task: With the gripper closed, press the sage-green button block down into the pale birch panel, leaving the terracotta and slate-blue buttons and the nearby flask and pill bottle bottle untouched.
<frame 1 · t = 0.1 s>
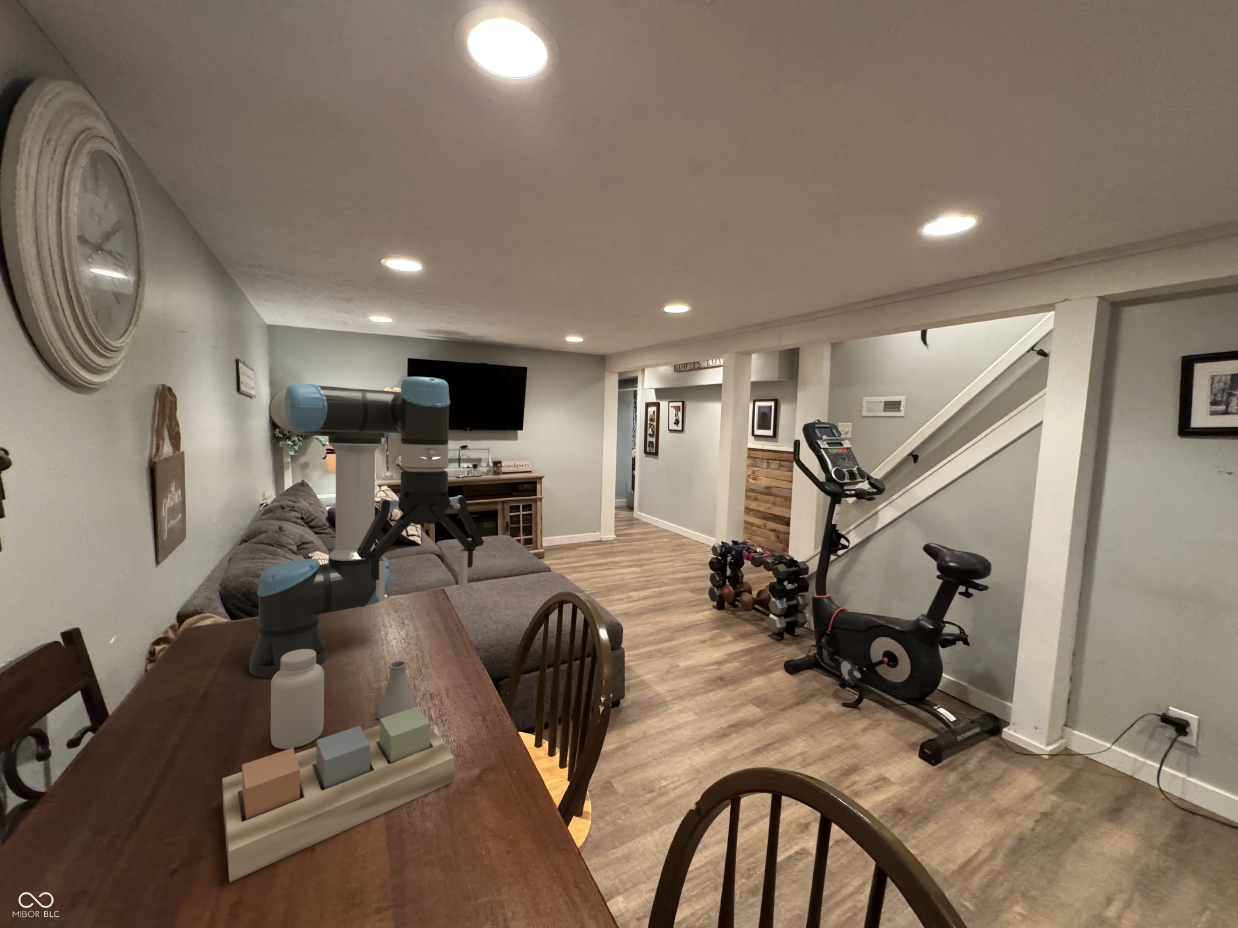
hand: (423, 591, 85), 28 cm above the table, fingers open, 13 cm apart
panel: (343, 792, 75), on the table
flask: (397, 713, 96), on the table
button slate: (343, 755, 74), point 6 cm above the table, slide at 0.0 cm
button sage: (404, 733, 80), point 6 cm above the table, slide at 0.0 cm
pill bottle: (298, 737, 88), on the table
button terracotta: (271, 781, 69), point 6 cm above the table, slide at 0.0 cm
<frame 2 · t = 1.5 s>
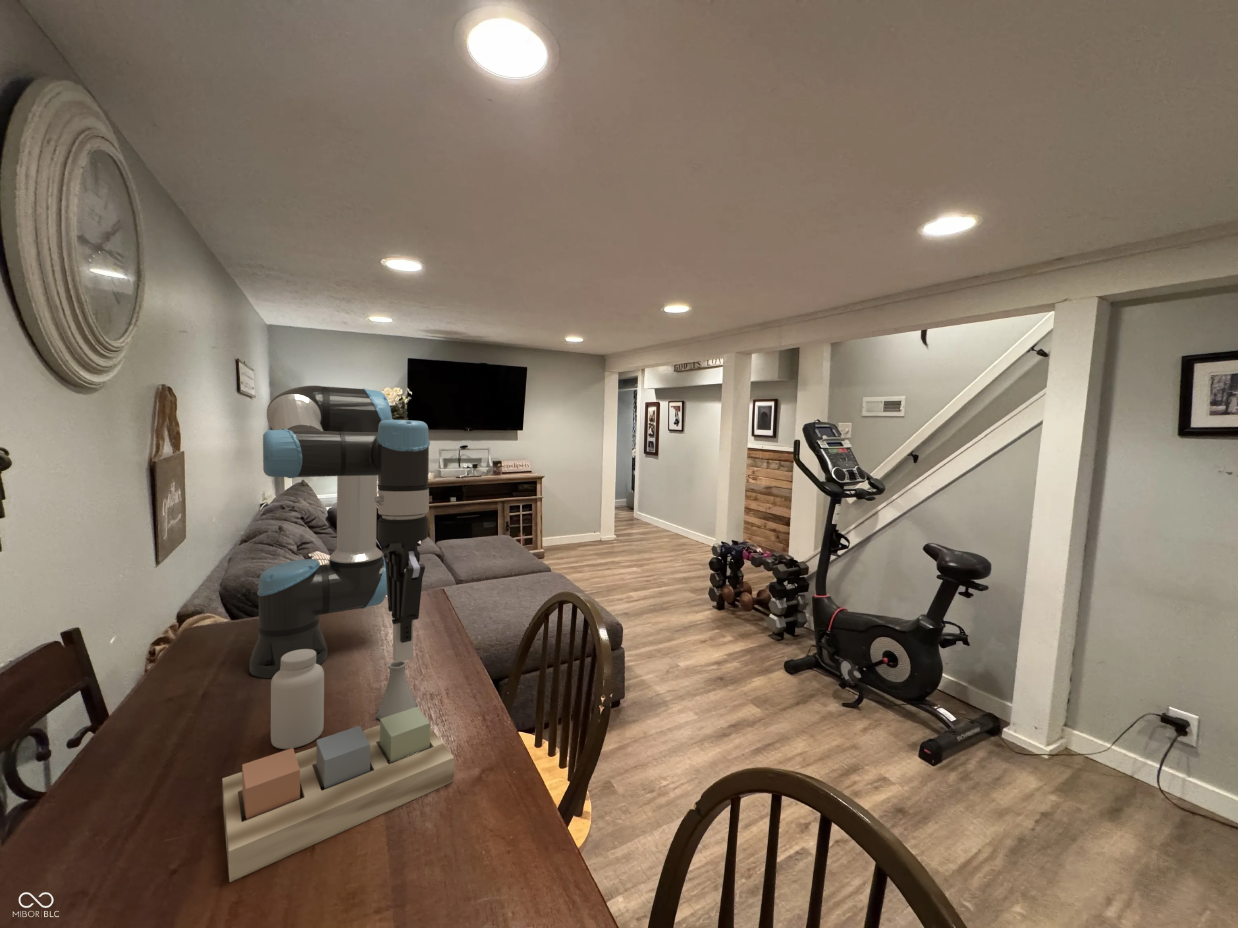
hand: (403, 658, 80), 18 cm above the table, fingers closed
nothing on the table moved.
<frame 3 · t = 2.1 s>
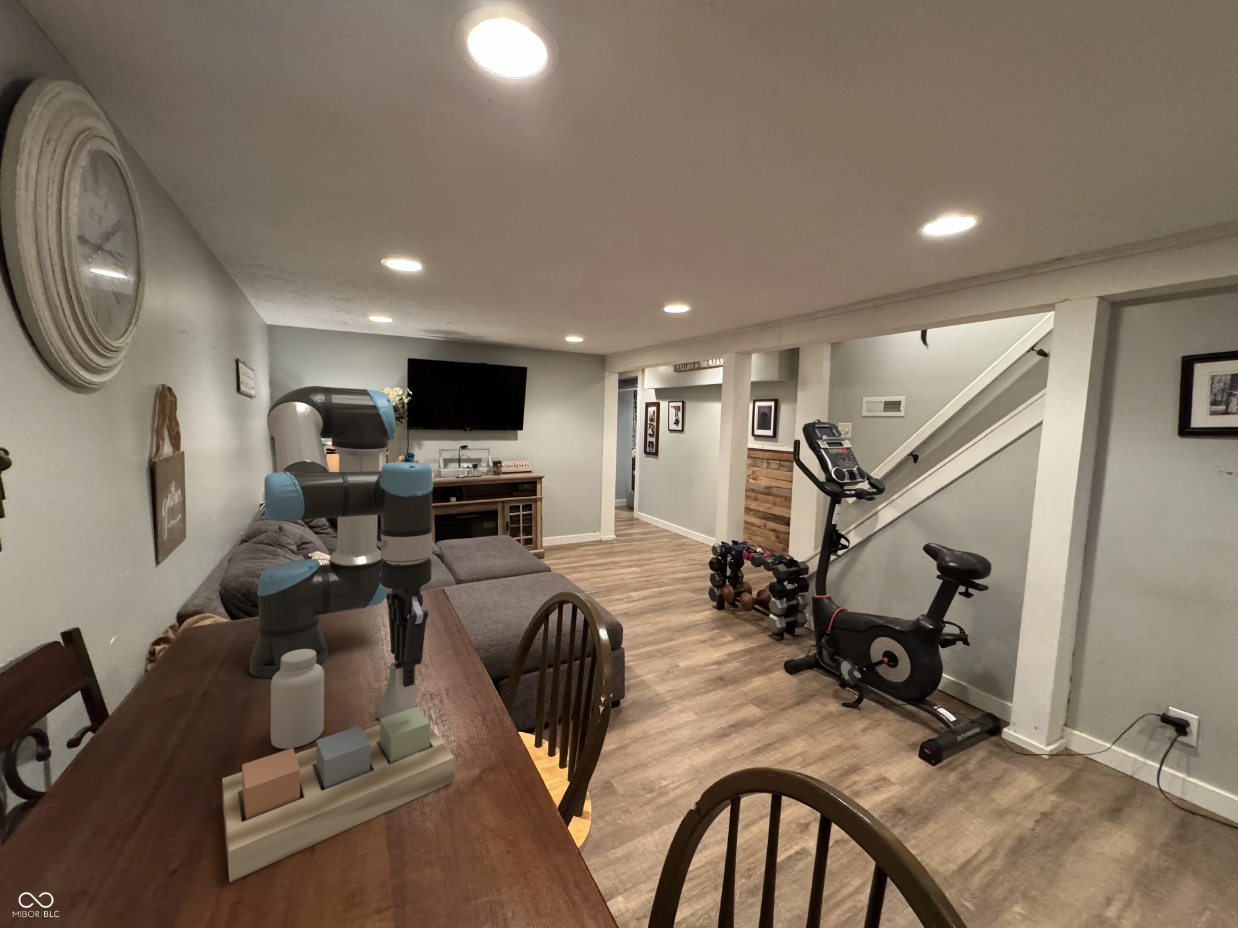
hand: (405, 701, 80), 11 cm above the table, fingers closed
nothing on the table moved.
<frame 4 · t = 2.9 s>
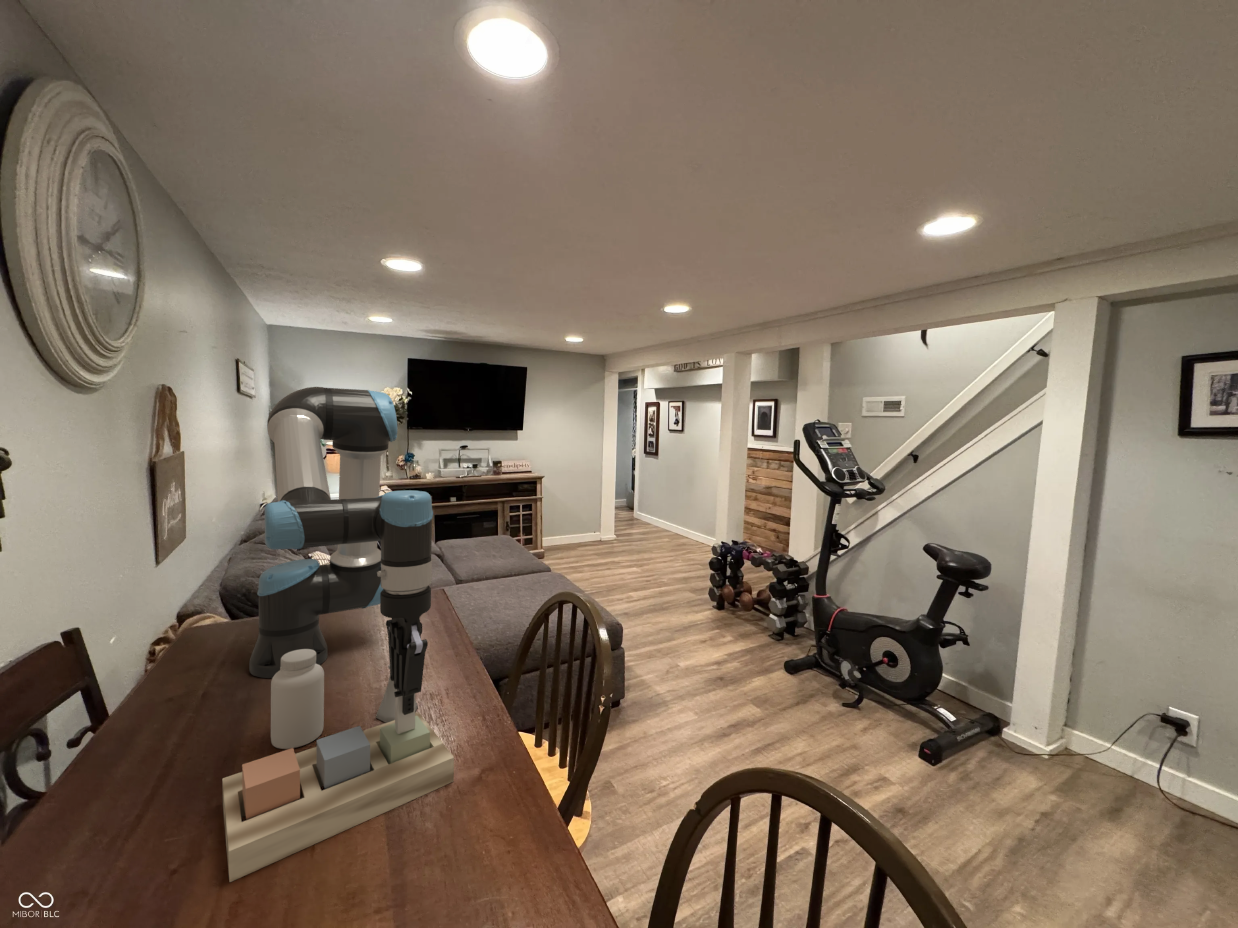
hand: (405, 728, 80), 7 cm above the table, fingers closed
button sage: (404, 742, 80), point 4 cm above the table, slide at 1.6 cm, touching gripper
everything else where it was.
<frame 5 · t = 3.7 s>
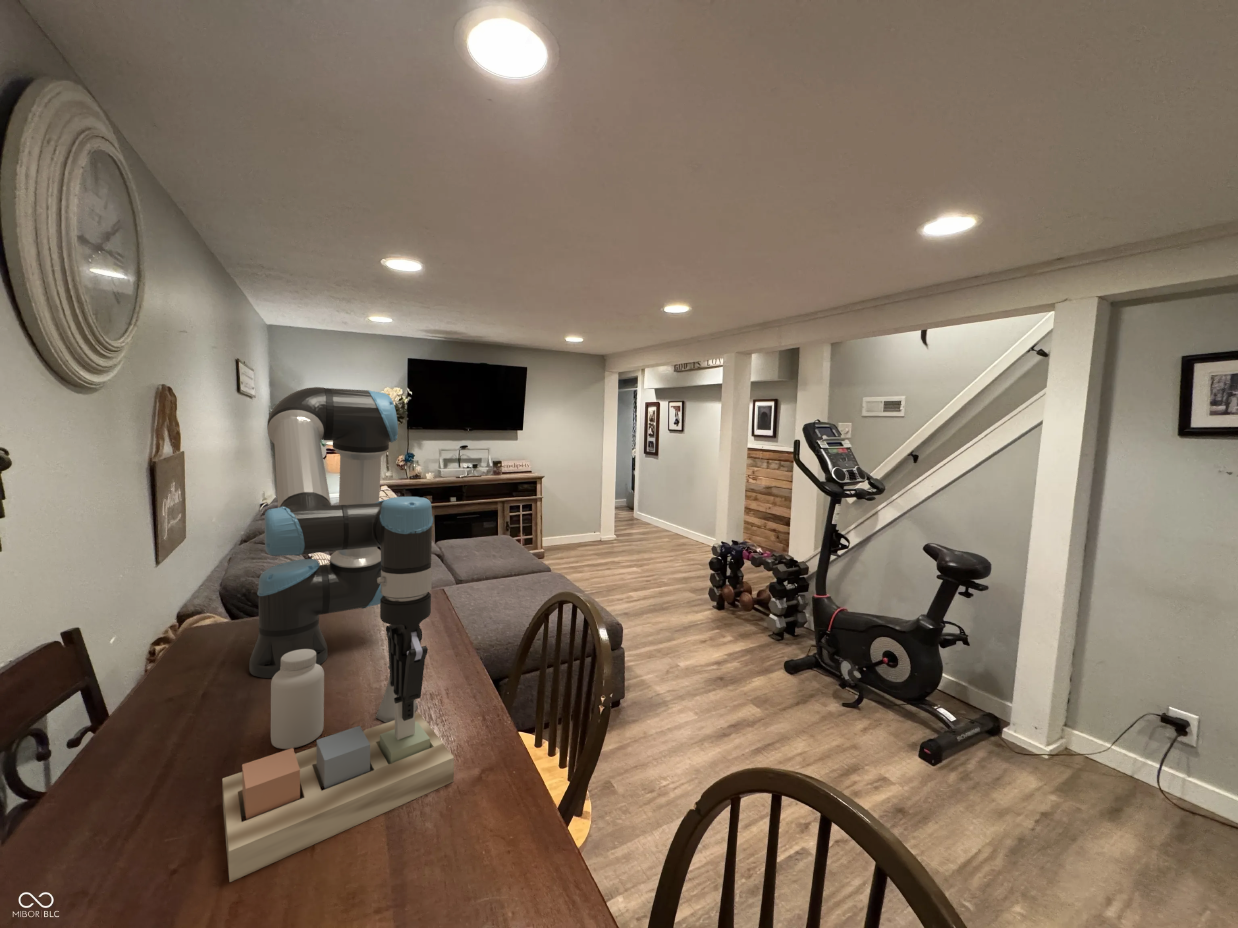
hand: (404, 734, 80), 6 cm above the table, fingers closed
button sage: (404, 748, 81), point 3 cm above the table, slide at 2.6 cm
everything else where it was.
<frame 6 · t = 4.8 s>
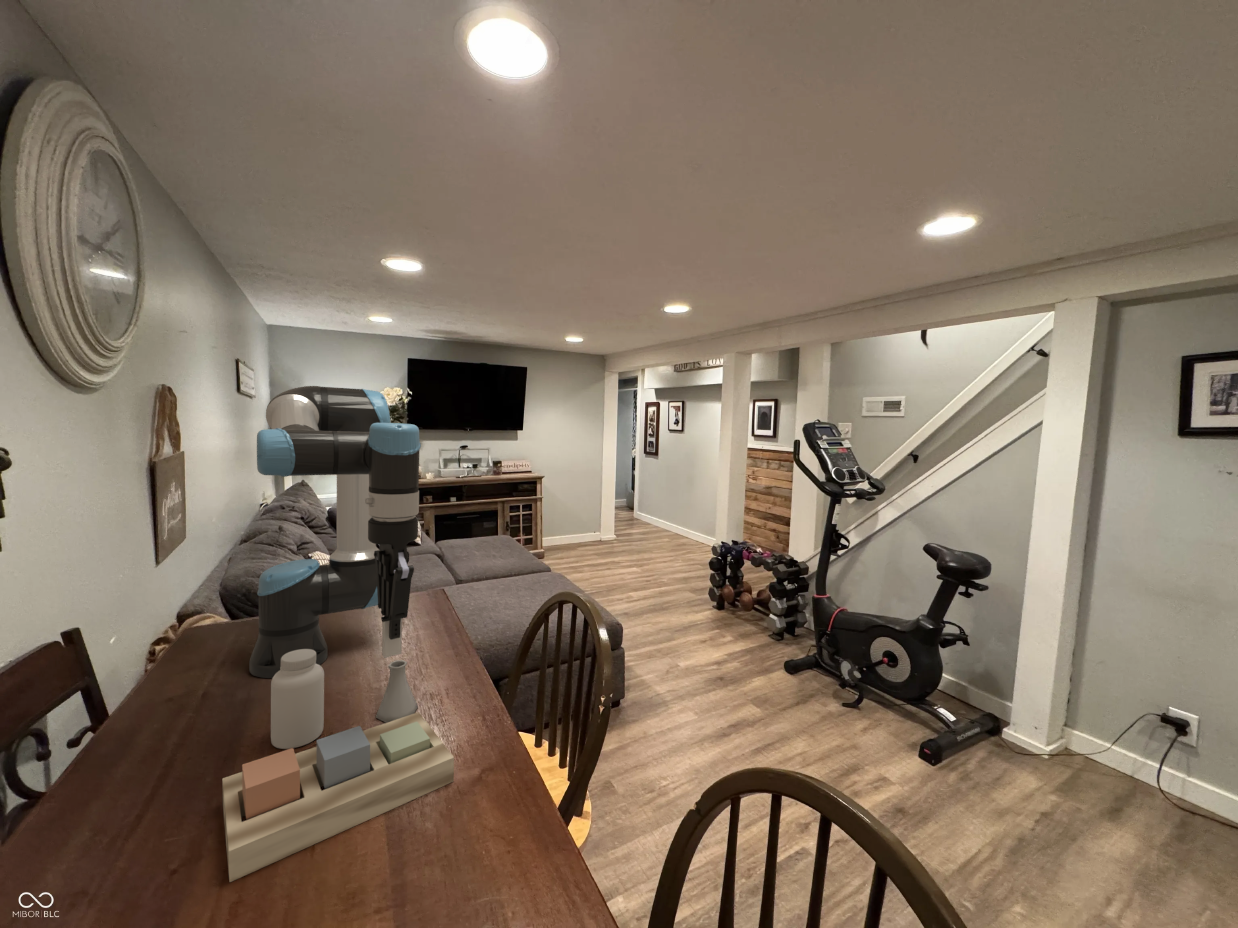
hand: (391, 653, 83), 18 cm above the table, fingers closed
nothing on the table moved.
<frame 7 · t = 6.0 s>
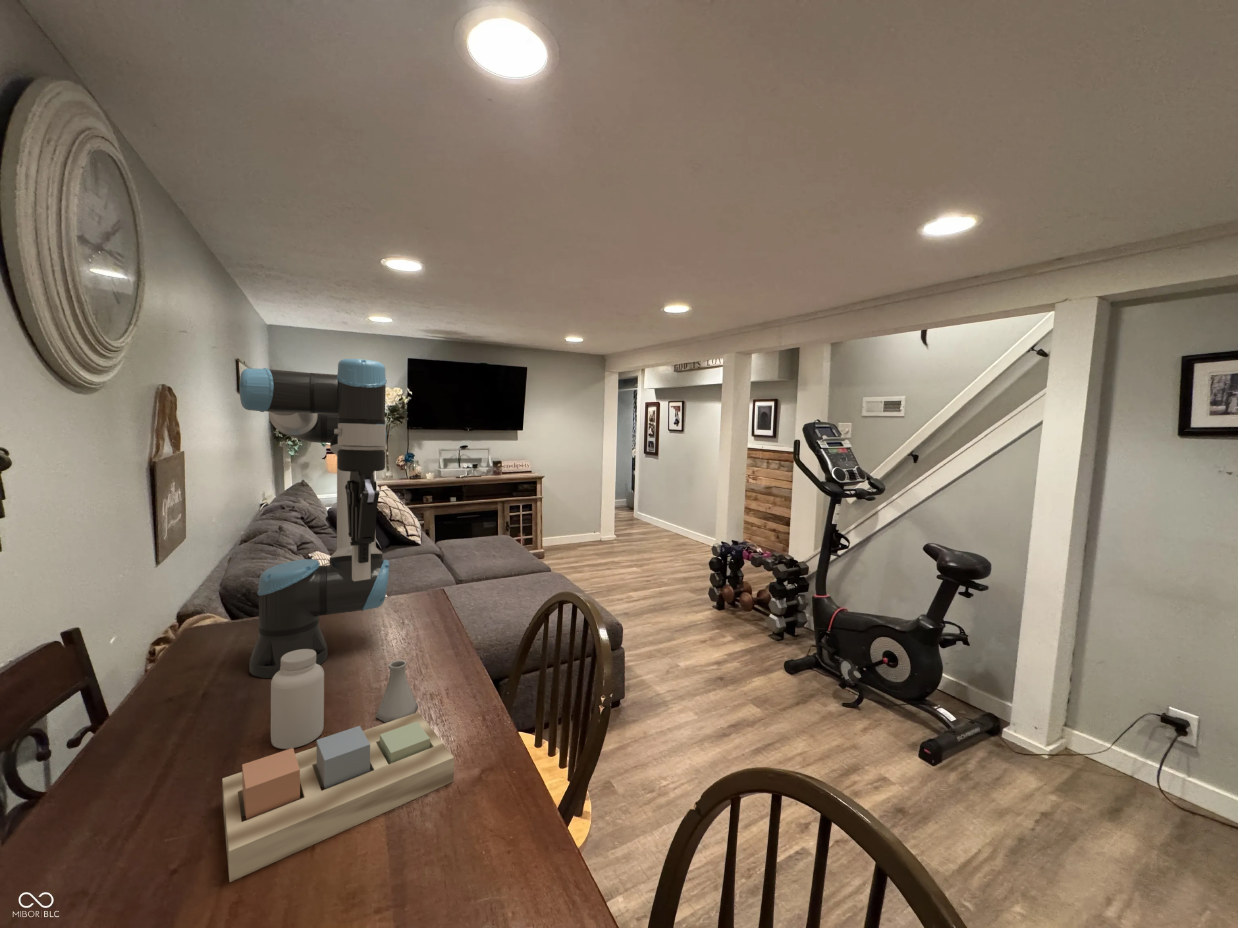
hand: (361, 578, 88), 28 cm above the table, fingers closed
nothing on the table moved.
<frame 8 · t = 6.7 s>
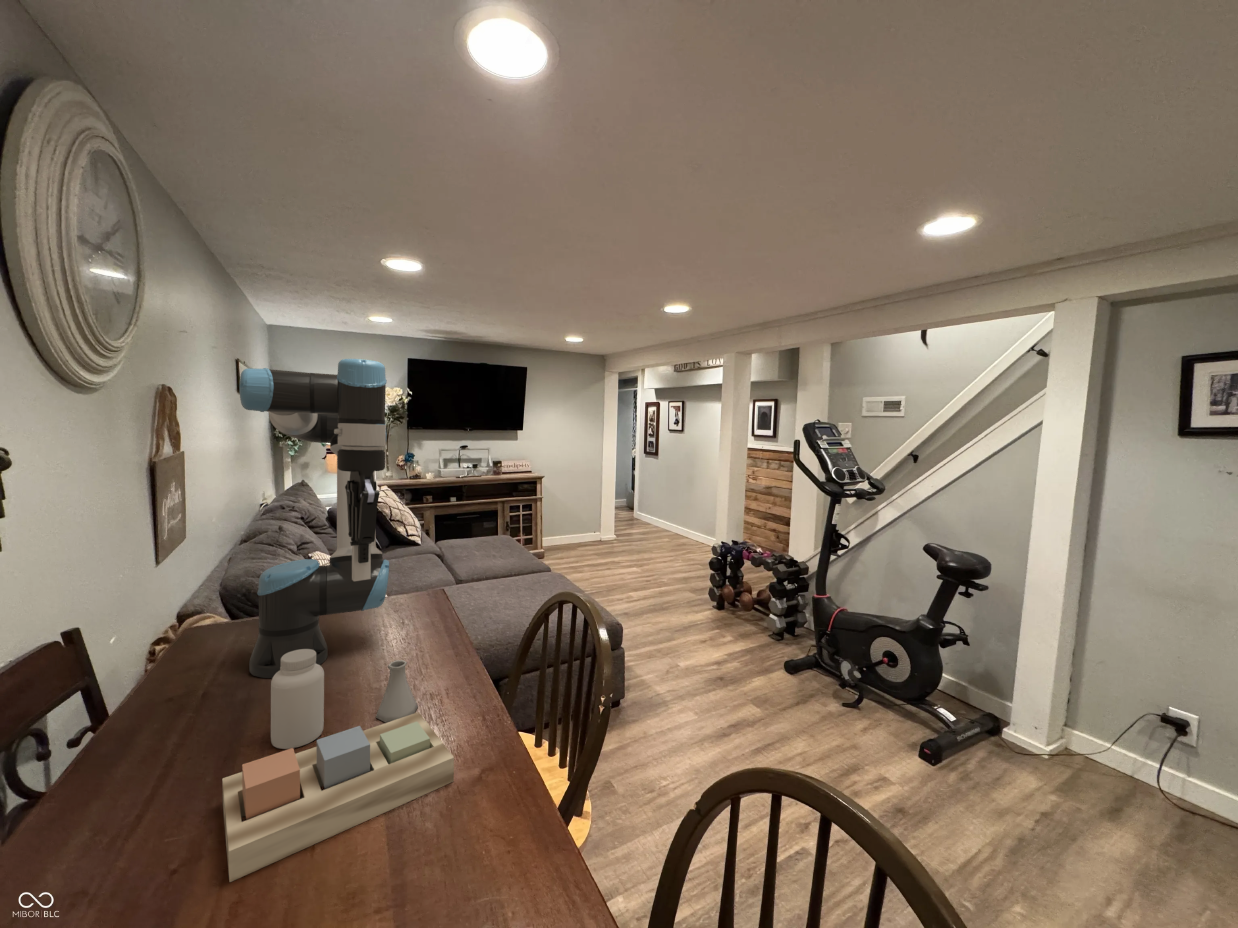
hand: (361, 578, 88), 28 cm above the table, fingers closed
nothing on the table moved.
at the end: button sage slide at 2.6 cm; button terracotta slide at 0.0 cm; button slate slide at 0.0 cm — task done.
